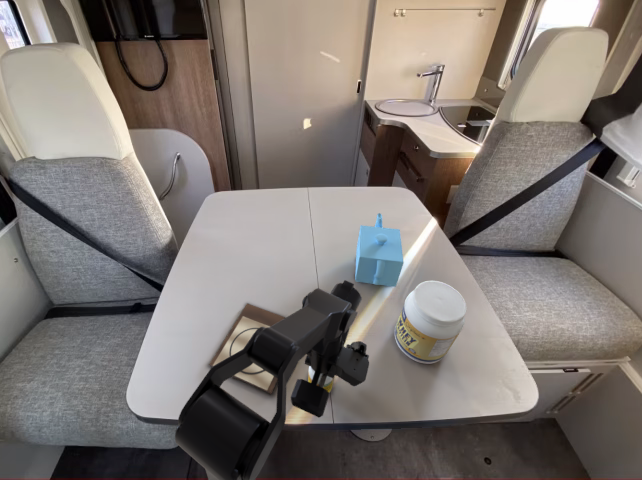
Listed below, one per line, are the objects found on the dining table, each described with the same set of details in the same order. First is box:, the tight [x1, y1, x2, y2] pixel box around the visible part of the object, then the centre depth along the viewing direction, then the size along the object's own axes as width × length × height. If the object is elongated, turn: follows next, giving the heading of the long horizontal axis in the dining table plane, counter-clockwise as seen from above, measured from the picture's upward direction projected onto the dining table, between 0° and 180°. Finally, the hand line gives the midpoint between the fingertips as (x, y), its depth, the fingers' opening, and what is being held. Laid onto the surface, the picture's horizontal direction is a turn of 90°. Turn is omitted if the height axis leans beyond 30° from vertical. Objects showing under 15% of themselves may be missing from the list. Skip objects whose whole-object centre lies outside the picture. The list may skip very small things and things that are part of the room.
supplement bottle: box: [307, 366, 334, 394], centre depth 65 cm, size 5×5×10 cm
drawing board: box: [208, 303, 287, 395], centre depth 75 cm, size 18×16×1 cm
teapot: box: [354, 212, 405, 288], centre depth 89 cm, size 22×11×14 cm, turn 169°
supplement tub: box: [394, 280, 468, 365], centre depth 70 cm, size 12×12×17 cm
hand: (320, 379), depth 66 cm, fingers open, 9 cm apart
